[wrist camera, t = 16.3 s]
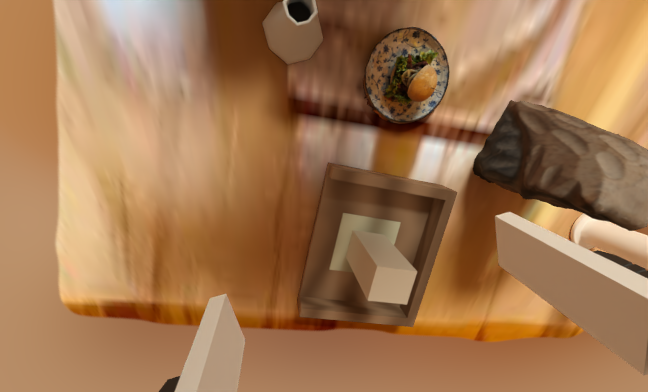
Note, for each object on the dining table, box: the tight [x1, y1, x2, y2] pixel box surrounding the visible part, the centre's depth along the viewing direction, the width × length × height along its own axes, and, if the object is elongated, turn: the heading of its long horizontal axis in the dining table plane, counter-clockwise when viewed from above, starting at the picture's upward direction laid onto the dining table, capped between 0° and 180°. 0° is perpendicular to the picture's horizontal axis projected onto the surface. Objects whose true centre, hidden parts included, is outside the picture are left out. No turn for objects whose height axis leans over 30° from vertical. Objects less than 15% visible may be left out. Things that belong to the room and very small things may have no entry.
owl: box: [473, 100, 648, 231], centre depth 38 cm, size 13×13×20 cm
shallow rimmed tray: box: [297, 163, 457, 327], centre depth 46 cm, size 18×22×4 cm
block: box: [346, 230, 417, 305], centre depth 41 cm, size 5×4×11 cm
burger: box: [363, 27, 449, 124], centre depth 39 cm, size 12×12×8 cm
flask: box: [262, 0, 323, 64], centre depth 34 cm, size 7×7×10 cm
